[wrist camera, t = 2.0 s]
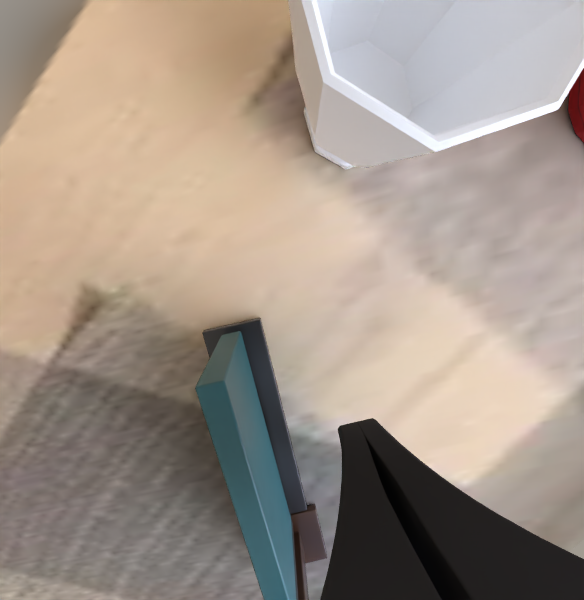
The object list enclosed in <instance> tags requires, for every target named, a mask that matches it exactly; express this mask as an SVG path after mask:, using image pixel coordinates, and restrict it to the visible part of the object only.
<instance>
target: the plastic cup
mask: <svg viewBox="0 0 584 600" xmlns="http://www.w3.org/2000/svg"><path fill="white" fill-rule="evenodd" d="M568 112H569V116H570V119H571V122H572V125H573V128H574V131H575V134H576V135H577V136H578V137H579V138H580V139H581V140H582V141H583V142H584V68H583V70H582V71H581V73H580V74H579V76H578V78H577V79H576V81H575V83H574V84H573V86H572V88H571V89H570V91H569V104H568Z"/></svg>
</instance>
